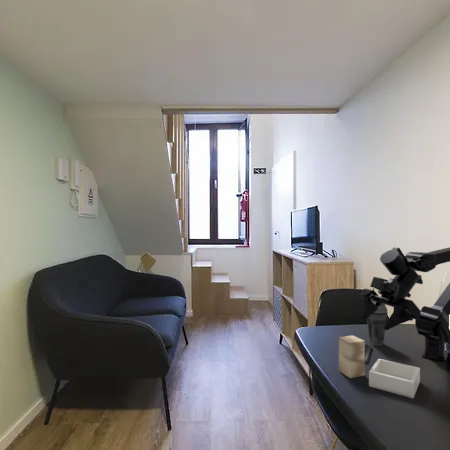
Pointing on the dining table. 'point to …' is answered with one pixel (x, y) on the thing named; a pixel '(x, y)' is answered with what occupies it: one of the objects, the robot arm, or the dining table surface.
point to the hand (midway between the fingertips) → (372, 324)
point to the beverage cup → (377, 325)
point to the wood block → (352, 356)
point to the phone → (367, 352)
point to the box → (395, 377)
